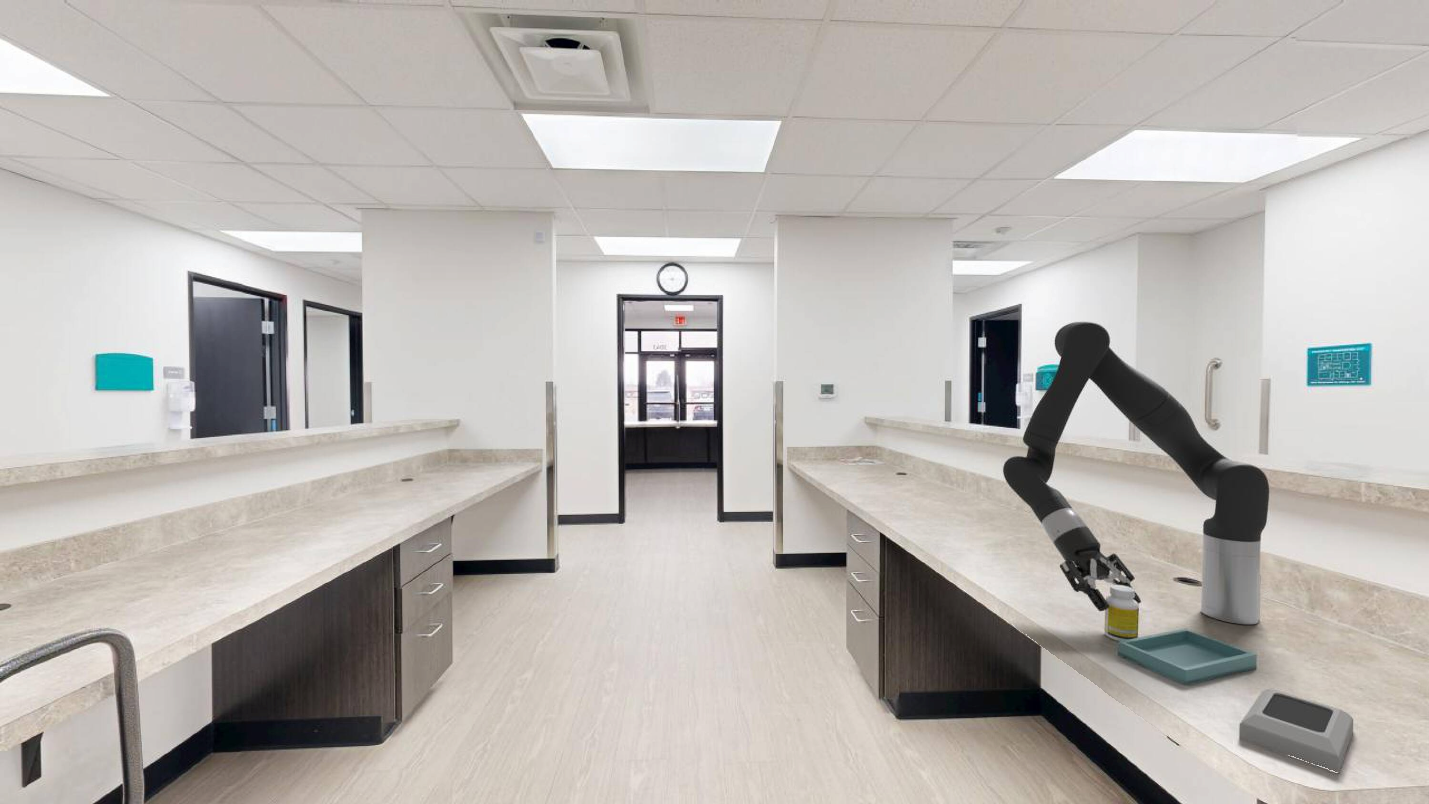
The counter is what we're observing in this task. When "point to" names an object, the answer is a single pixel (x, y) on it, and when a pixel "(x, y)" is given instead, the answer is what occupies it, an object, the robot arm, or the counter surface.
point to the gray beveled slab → (1298, 728)
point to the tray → (1187, 656)
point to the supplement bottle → (1121, 614)
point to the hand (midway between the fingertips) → (1121, 606)
